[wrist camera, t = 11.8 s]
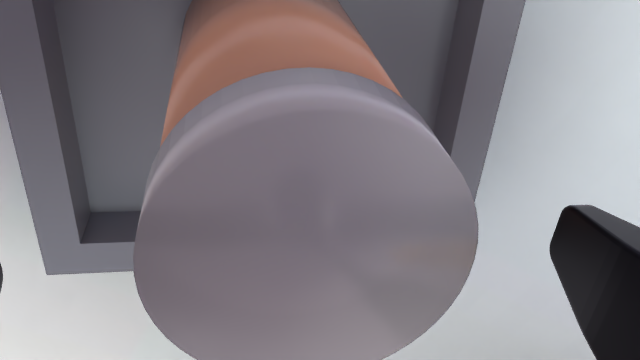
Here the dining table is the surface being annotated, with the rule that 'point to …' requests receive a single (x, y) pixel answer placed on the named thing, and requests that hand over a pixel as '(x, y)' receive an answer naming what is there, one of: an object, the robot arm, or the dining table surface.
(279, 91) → the shaker
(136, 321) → the dining table surface
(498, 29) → the tray
